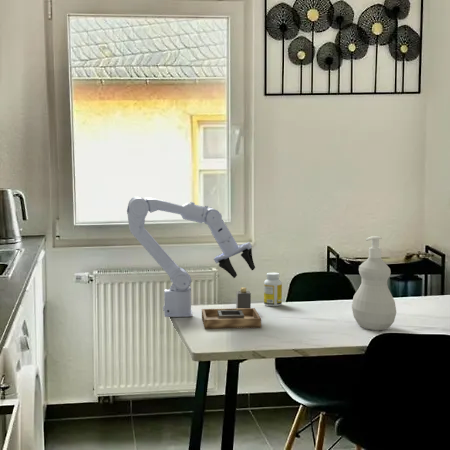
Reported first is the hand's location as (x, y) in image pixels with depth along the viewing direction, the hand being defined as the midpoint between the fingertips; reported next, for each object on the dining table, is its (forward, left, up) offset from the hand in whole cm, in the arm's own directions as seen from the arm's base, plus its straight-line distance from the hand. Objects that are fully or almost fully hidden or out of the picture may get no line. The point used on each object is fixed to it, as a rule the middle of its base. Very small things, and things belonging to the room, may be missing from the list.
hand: (244, 272), depth 273 cm
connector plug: (0, +1, -14) cm, 14 cm away
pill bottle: (+12, +12, -14) cm, 22 cm away
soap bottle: (+39, -25, -14) cm, 48 cm away
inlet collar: (-6, -15, -14) cm, 21 cm away
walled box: (-6, -15, -14) cm, 21 cm away
